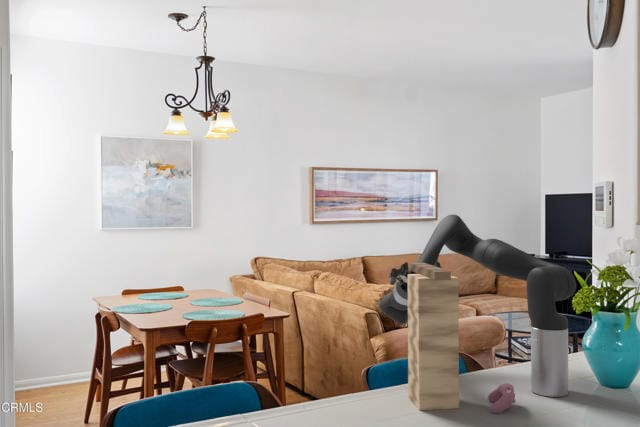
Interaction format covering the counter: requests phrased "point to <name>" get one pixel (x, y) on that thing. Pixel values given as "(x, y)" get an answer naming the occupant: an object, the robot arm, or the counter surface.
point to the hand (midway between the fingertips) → (422, 265)
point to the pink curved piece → (502, 398)
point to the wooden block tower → (433, 342)
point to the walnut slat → (430, 271)
